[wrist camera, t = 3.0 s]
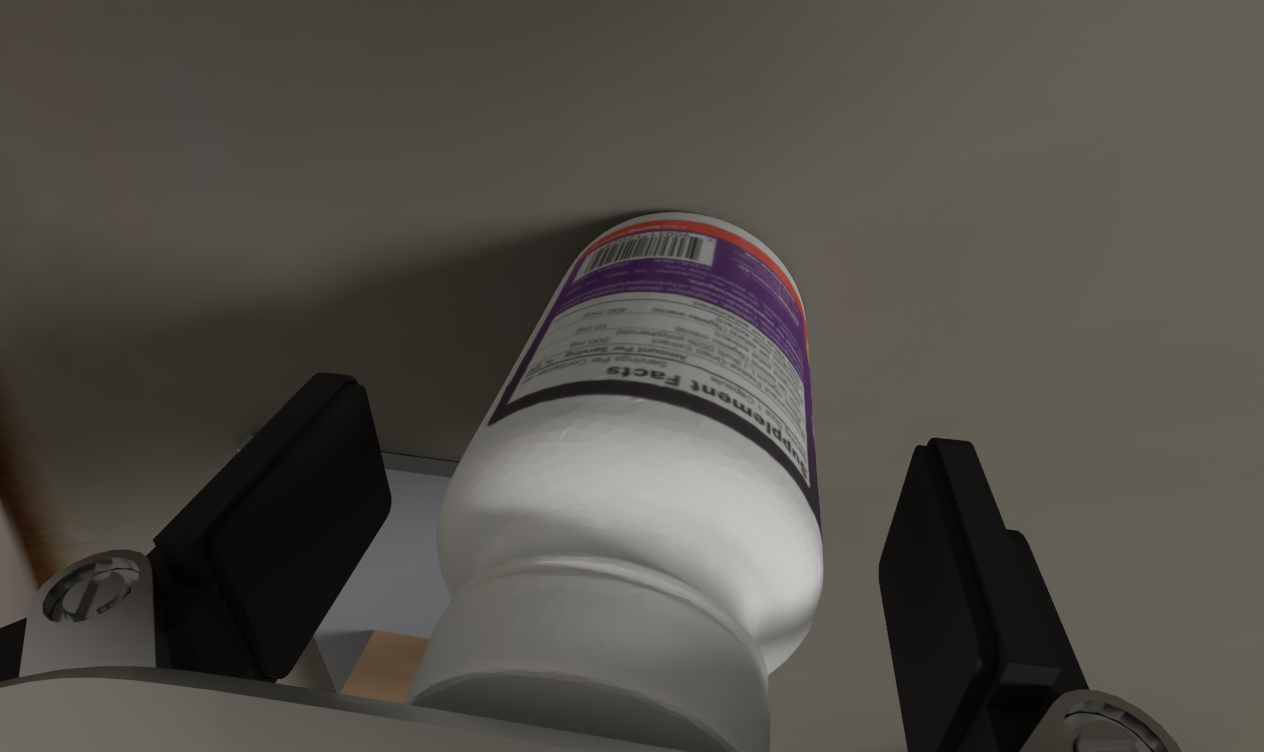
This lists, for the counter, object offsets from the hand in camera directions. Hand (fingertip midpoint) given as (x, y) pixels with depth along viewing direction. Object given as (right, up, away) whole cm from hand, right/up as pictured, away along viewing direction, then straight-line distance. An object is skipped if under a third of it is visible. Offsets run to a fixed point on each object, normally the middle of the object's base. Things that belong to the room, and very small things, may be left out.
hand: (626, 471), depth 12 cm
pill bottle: (+1, +3, +3) cm, 5 cm away
